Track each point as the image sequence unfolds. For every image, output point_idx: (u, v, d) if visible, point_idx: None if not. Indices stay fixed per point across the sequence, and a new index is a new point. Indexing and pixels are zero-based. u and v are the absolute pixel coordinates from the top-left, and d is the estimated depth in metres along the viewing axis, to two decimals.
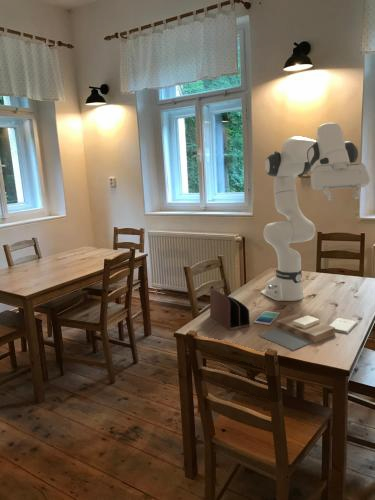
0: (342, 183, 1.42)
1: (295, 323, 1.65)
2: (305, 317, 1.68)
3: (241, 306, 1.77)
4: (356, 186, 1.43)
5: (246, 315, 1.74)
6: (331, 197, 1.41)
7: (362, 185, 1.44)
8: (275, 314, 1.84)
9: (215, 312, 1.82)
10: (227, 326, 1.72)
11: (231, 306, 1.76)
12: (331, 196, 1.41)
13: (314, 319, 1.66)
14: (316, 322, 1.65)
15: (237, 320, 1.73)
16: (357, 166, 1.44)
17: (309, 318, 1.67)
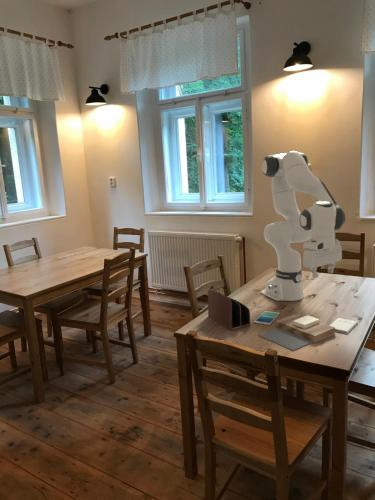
0: (326, 263, 1.64)
1: (295, 323, 1.65)
2: (305, 317, 1.68)
3: (240, 306, 1.78)
4: (332, 263, 1.68)
5: (246, 315, 1.75)
6: (316, 276, 1.63)
7: None
8: (275, 314, 1.84)
9: (214, 313, 1.82)
10: (228, 326, 1.71)
11: None
12: (316, 275, 1.63)
13: (314, 319, 1.66)
14: (316, 322, 1.65)
15: (238, 320, 1.73)
16: (337, 246, 1.67)
17: (309, 318, 1.67)
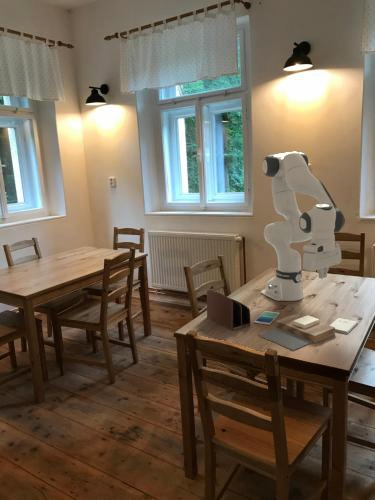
0: (325, 266, 1.65)
1: (295, 323, 1.65)
2: (305, 317, 1.68)
3: None
4: (325, 267, 1.67)
5: (246, 314, 1.75)
6: (323, 277, 1.66)
7: None
8: (275, 314, 1.84)
9: (213, 313, 1.81)
10: (229, 326, 1.71)
11: None
12: (323, 276, 1.66)
13: (314, 319, 1.66)
14: (316, 322, 1.65)
15: (238, 320, 1.73)
16: (336, 248, 1.67)
17: (309, 318, 1.67)
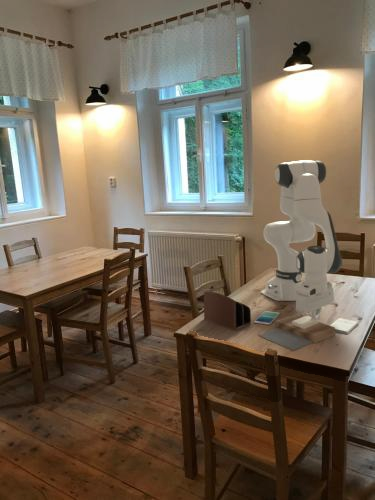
0: (318, 307, 1.66)
1: (294, 323, 1.64)
2: (304, 317, 1.68)
3: None
4: (318, 308, 1.68)
5: (247, 313, 1.76)
6: None
7: None
8: (275, 314, 1.84)
9: (212, 314, 1.80)
10: (232, 326, 1.71)
11: None
12: (315, 317, 1.67)
13: (313, 319, 1.65)
14: (315, 322, 1.64)
15: (240, 319, 1.73)
16: (329, 289, 1.68)
17: (308, 318, 1.67)
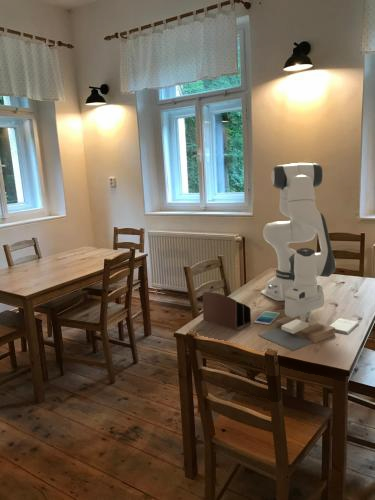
0: (308, 311, 1.62)
1: (283, 328, 1.61)
2: (294, 321, 1.64)
3: None
4: (308, 311, 1.64)
5: (247, 313, 1.76)
6: None
7: None
8: (275, 314, 1.84)
9: (212, 315, 1.79)
10: (233, 326, 1.71)
11: None
12: (305, 321, 1.64)
13: (303, 323, 1.62)
14: (305, 326, 1.61)
15: (240, 319, 1.73)
16: (319, 292, 1.65)
17: (298, 322, 1.63)
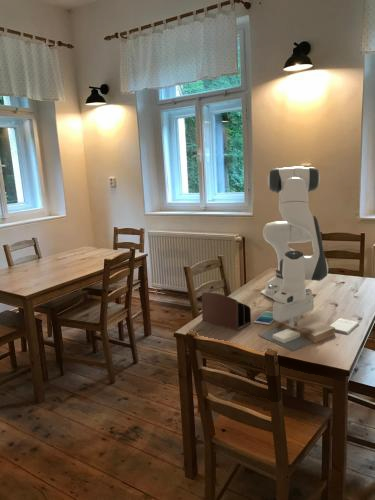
0: (296, 315, 1.59)
1: (275, 337, 1.59)
2: (285, 330, 1.62)
3: None
4: (296, 315, 1.61)
5: (246, 313, 1.77)
6: (294, 326, 1.60)
7: None
8: None
9: (212, 315, 1.79)
10: (234, 326, 1.71)
11: None
12: (294, 325, 1.60)
13: (294, 333, 1.60)
14: (296, 336, 1.59)
15: (241, 319, 1.74)
16: (308, 296, 1.61)
17: (289, 331, 1.61)
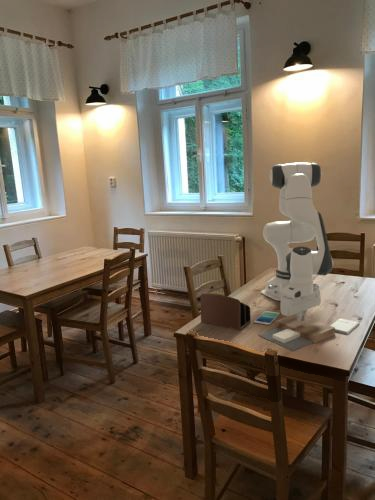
0: (304, 310, 1.62)
1: (275, 337, 1.59)
2: (285, 330, 1.62)
3: None
4: None
5: (246, 312, 1.77)
6: (301, 320, 1.63)
7: None
8: (275, 314, 1.84)
9: (211, 316, 1.77)
10: (236, 326, 1.71)
11: None
12: (301, 319, 1.63)
13: (294, 333, 1.60)
14: (296, 336, 1.59)
15: (242, 318, 1.74)
16: (315, 291, 1.64)
17: (289, 331, 1.61)
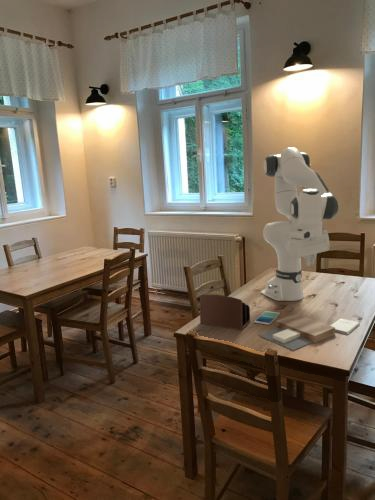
0: (313, 253, 1.59)
1: (275, 337, 1.59)
2: (285, 330, 1.62)
3: None
4: (312, 254, 1.61)
5: (245, 311, 1.78)
6: (310, 264, 1.61)
7: None
8: (275, 314, 1.84)
9: (212, 317, 1.76)
10: (238, 326, 1.71)
11: None
12: (310, 263, 1.61)
13: (294, 333, 1.60)
14: (296, 336, 1.59)
15: (242, 318, 1.74)
16: (324, 235, 1.62)
17: (289, 331, 1.61)
